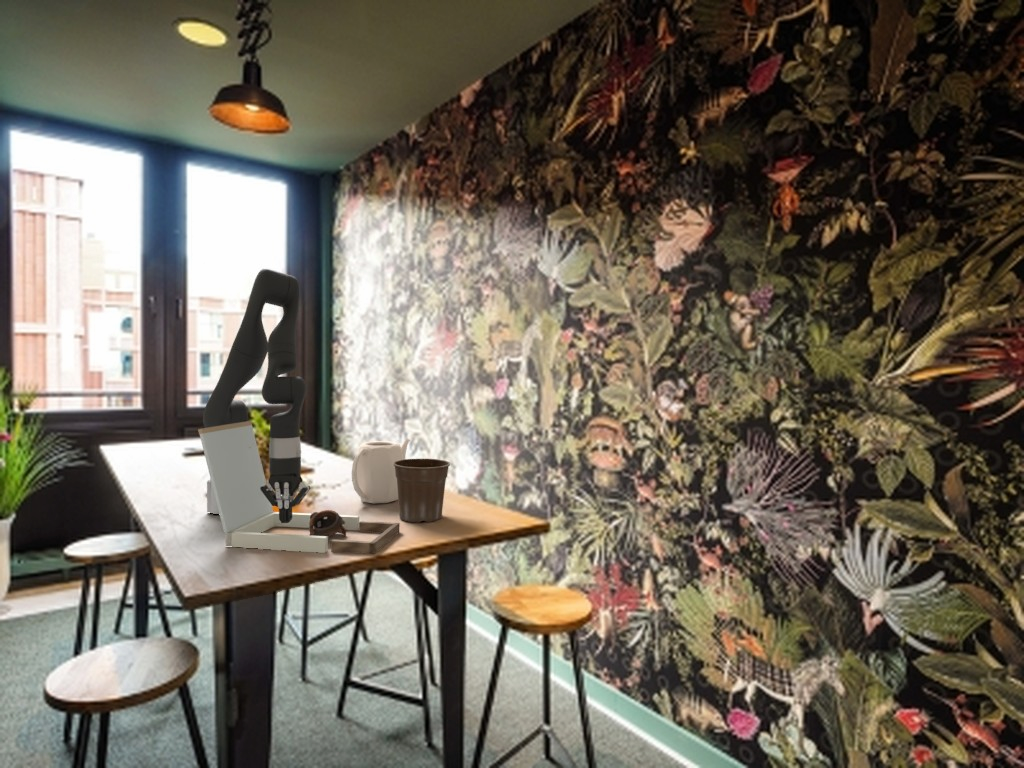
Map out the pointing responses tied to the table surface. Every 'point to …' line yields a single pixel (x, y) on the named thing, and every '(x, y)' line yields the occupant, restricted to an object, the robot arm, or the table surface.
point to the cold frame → (251, 494)
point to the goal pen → (366, 546)
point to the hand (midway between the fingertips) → (285, 522)
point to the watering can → (377, 470)
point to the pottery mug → (326, 523)
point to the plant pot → (421, 488)
